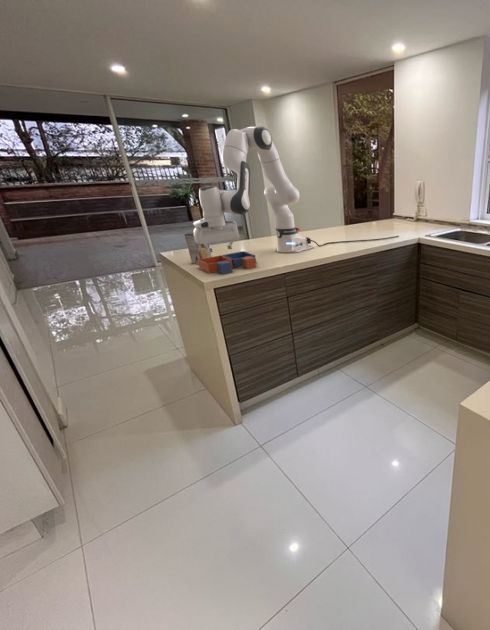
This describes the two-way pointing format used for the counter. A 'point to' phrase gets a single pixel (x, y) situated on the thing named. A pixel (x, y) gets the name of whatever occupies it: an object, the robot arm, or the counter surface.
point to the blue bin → (238, 258)
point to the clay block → (248, 262)
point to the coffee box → (196, 249)
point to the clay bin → (212, 263)
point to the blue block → (224, 267)
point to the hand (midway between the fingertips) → (220, 250)
